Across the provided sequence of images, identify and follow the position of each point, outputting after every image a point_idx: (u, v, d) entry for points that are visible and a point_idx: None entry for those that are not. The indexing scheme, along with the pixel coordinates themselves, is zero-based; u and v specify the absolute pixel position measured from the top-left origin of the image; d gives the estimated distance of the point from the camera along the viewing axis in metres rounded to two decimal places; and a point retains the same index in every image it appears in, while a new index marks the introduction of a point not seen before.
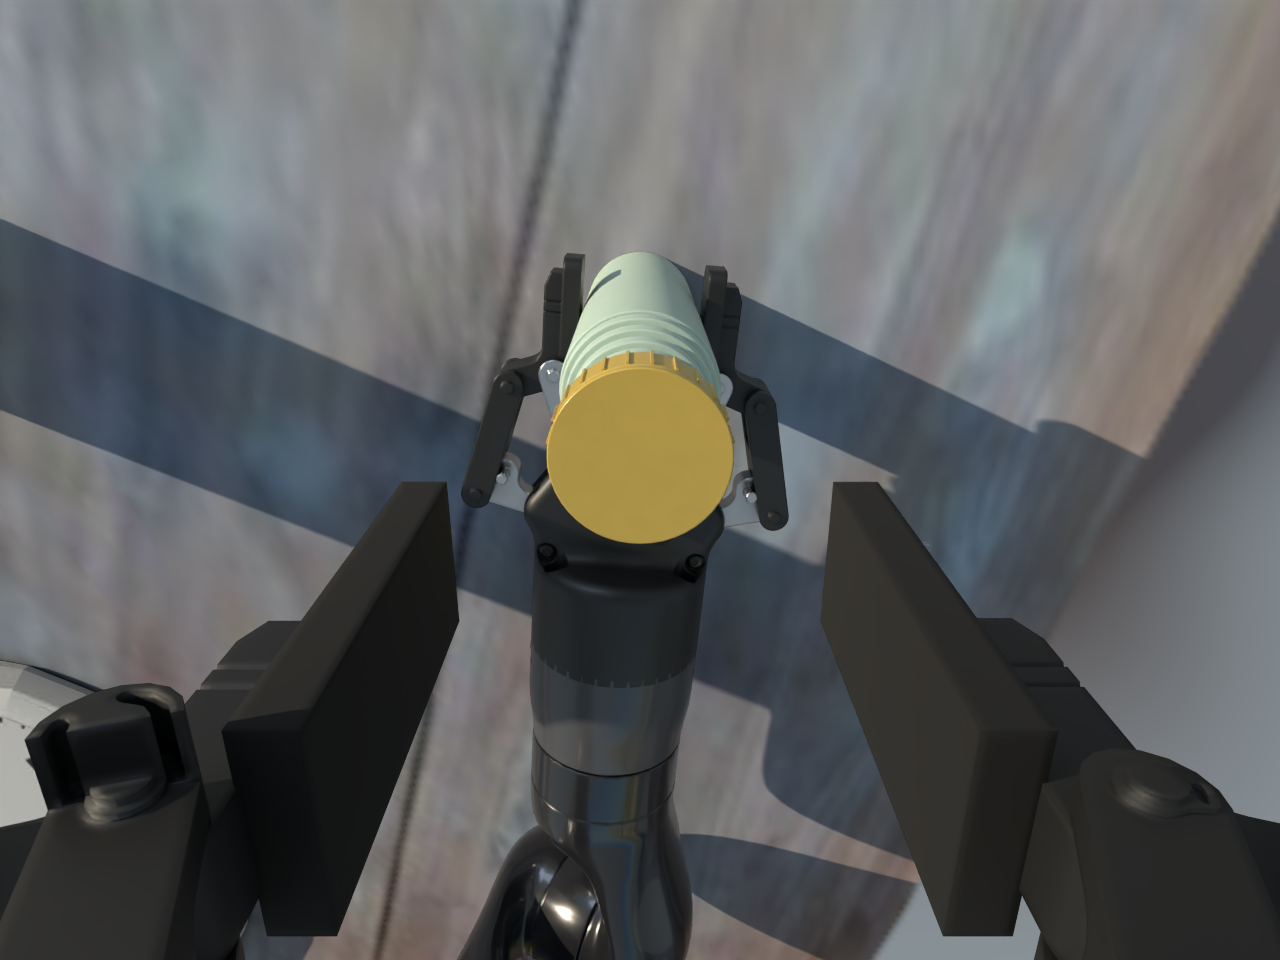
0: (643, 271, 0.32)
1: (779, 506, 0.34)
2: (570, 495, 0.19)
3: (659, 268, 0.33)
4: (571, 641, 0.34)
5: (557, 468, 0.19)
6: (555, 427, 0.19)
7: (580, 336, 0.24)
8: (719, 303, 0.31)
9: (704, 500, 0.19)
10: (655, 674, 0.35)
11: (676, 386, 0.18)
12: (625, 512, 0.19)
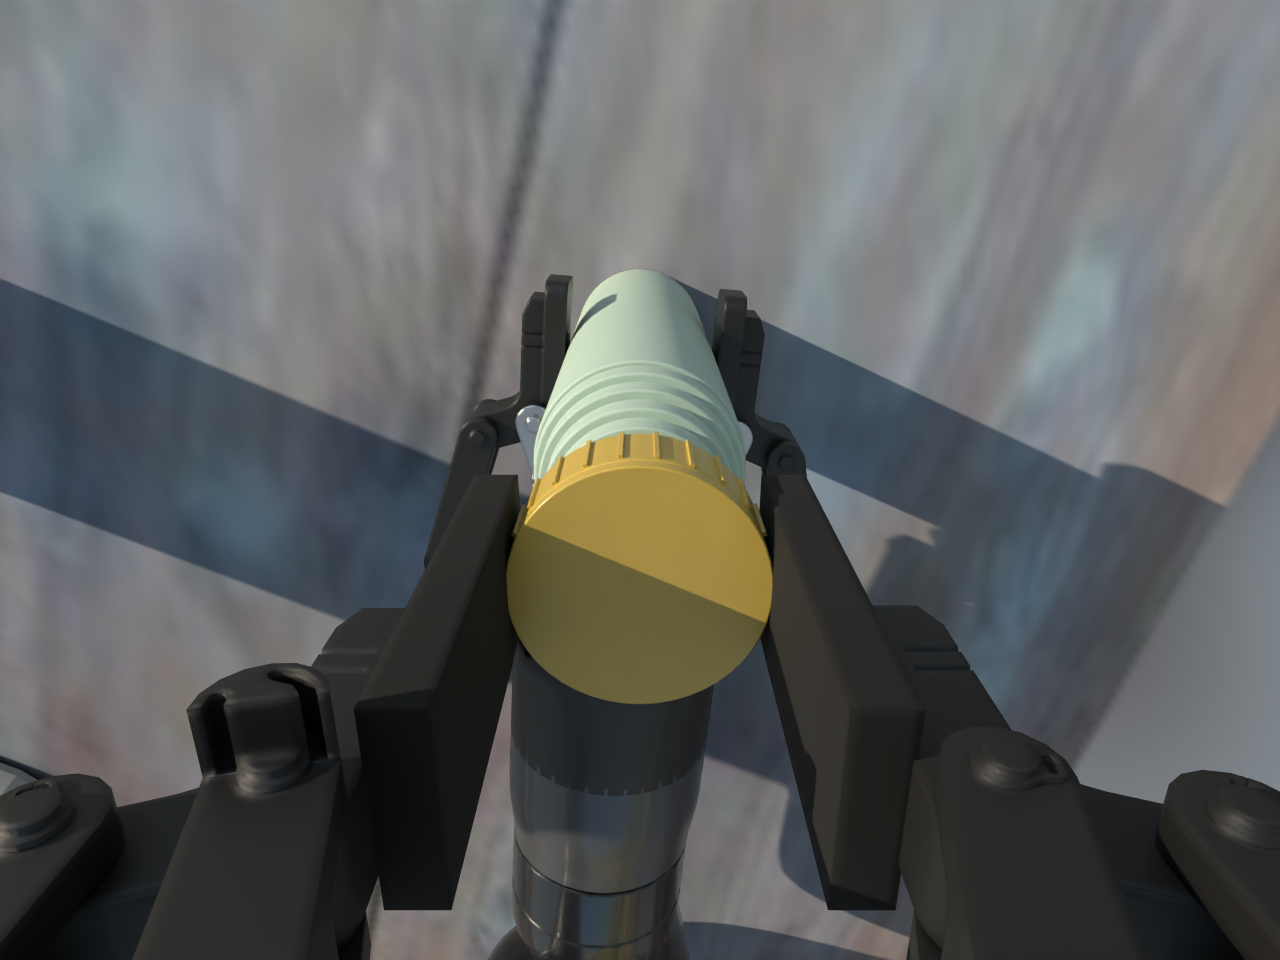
0: (643, 297, 0.26)
1: None
2: (539, 640, 0.14)
3: (663, 292, 0.28)
4: (556, 741, 0.28)
5: (520, 604, 0.13)
6: (516, 548, 0.13)
7: (560, 394, 0.18)
8: (737, 337, 0.25)
9: (731, 647, 0.14)
10: (658, 778, 0.29)
11: (692, 492, 0.13)
12: (618, 663, 0.14)
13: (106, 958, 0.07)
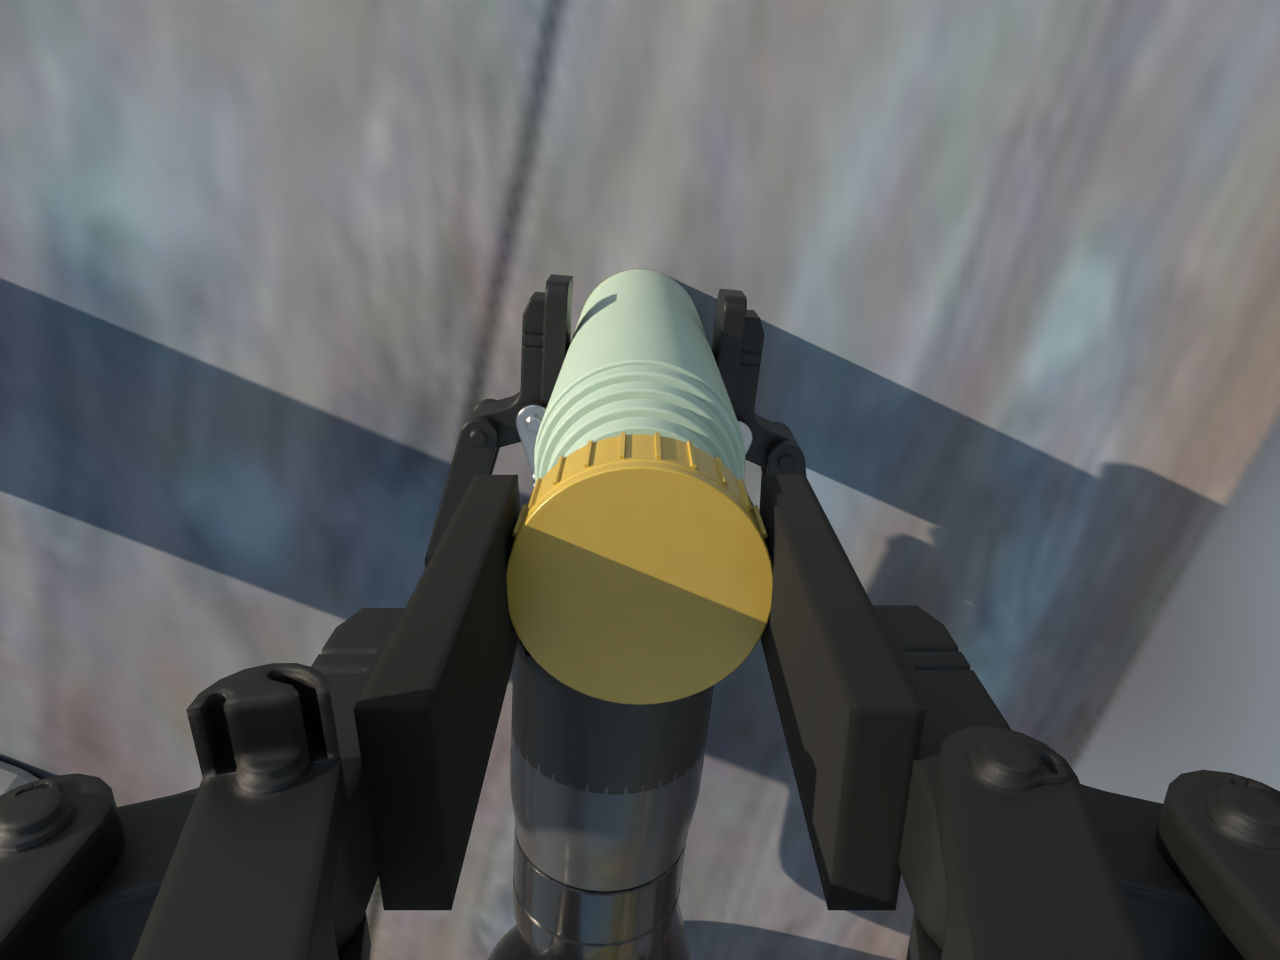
0: (643, 297, 0.26)
1: None
2: (716, 665, 0.14)
3: (663, 292, 0.28)
4: (557, 739, 0.28)
5: (680, 688, 0.14)
6: (623, 700, 0.14)
7: (561, 393, 0.18)
8: (736, 336, 0.25)
9: (679, 494, 0.13)
10: (658, 777, 0.29)
11: (521, 574, 0.13)
12: (725, 594, 0.13)
13: (106, 958, 0.07)
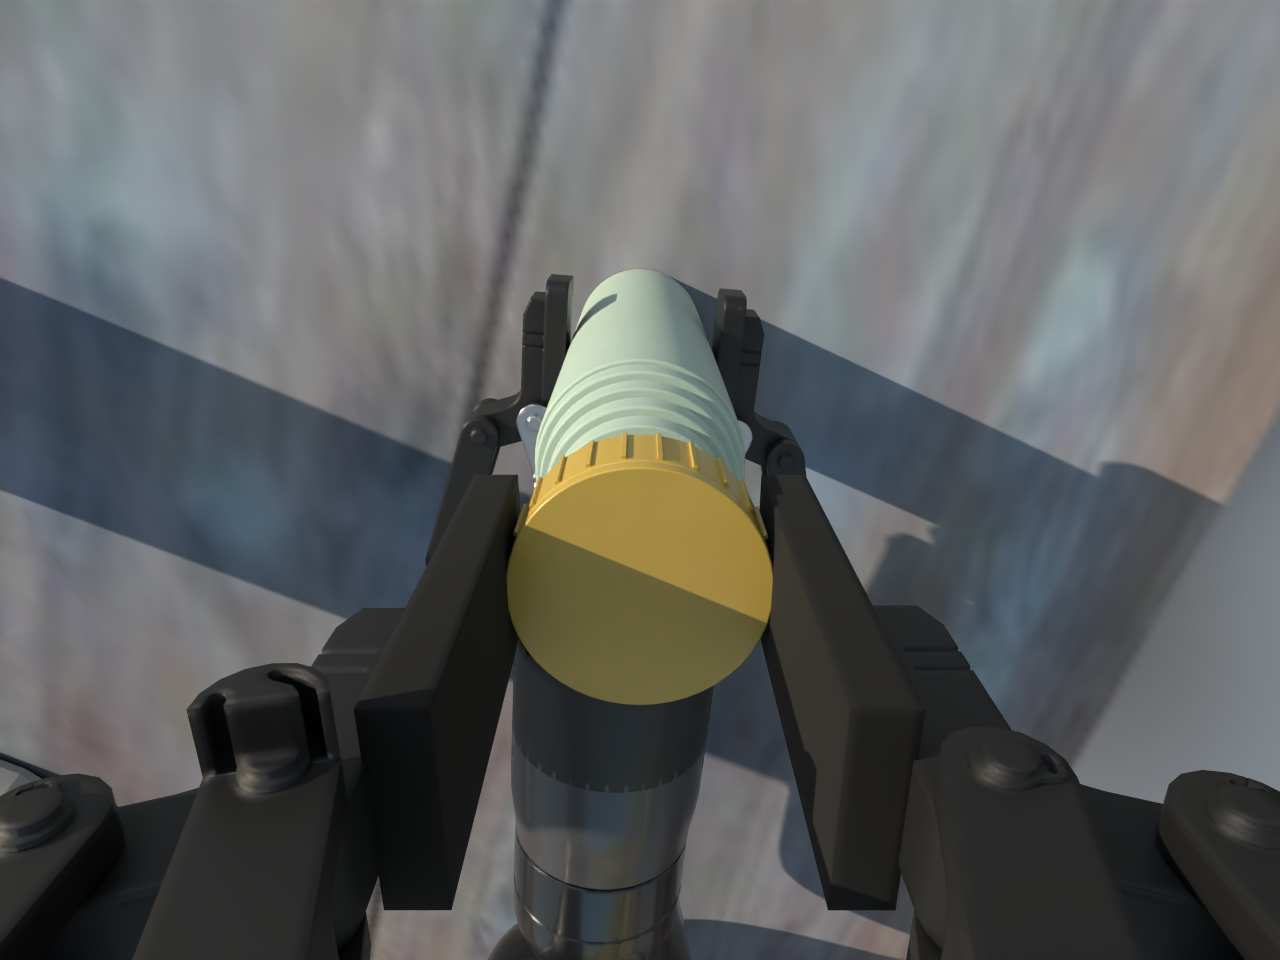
0: (643, 297, 0.26)
1: None
2: (705, 502, 0.13)
3: (663, 291, 0.28)
4: (558, 738, 0.28)
5: (741, 530, 0.13)
6: (769, 579, 0.13)
7: (561, 392, 0.18)
8: (736, 336, 0.25)
9: (526, 584, 0.13)
10: (658, 775, 0.29)
11: (648, 693, 0.14)
12: (618, 518, 0.13)
13: (106, 958, 0.07)
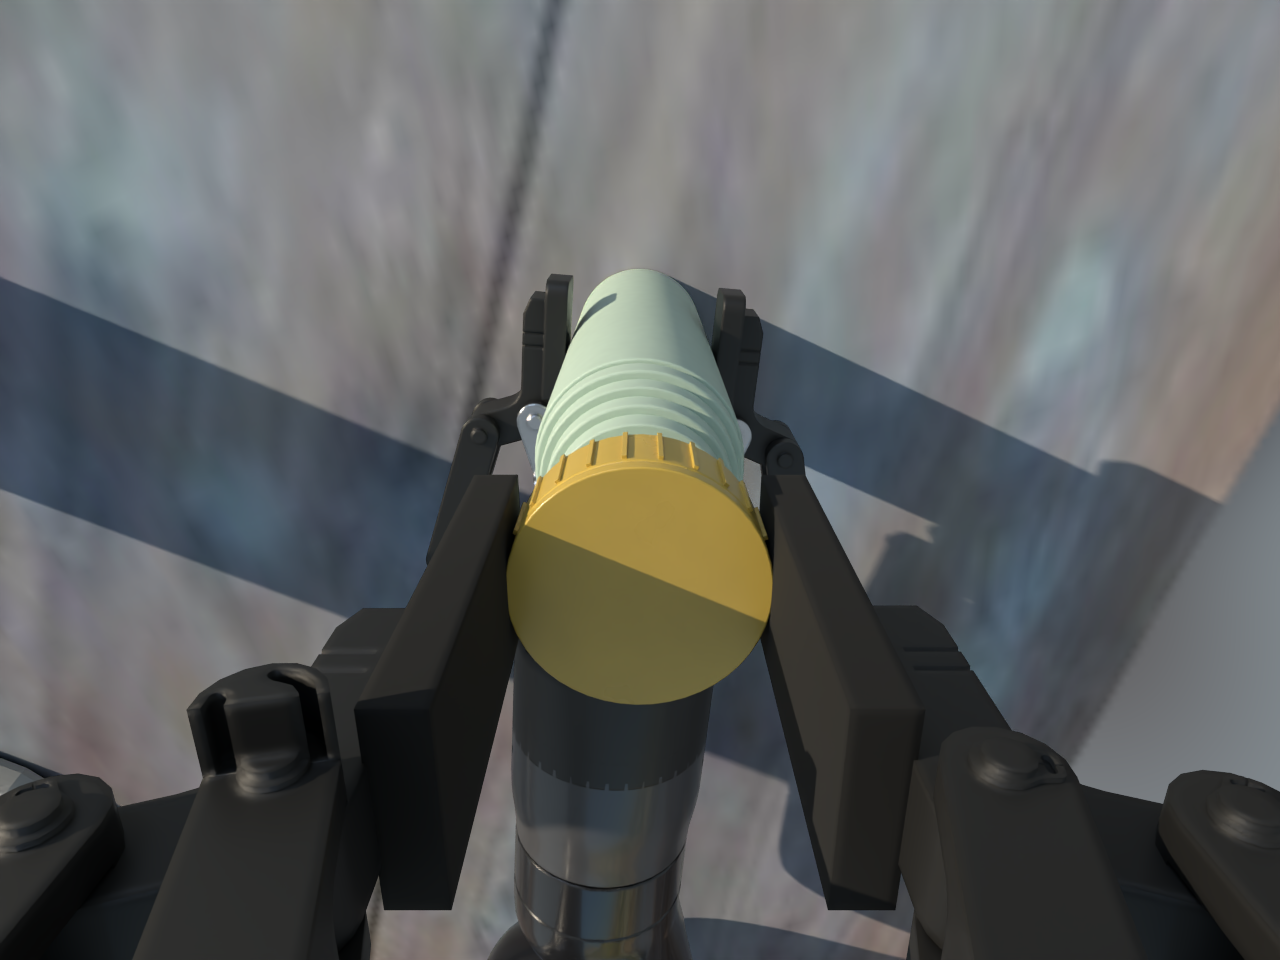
0: (643, 296, 0.26)
1: None
2: (526, 561, 0.13)
3: (662, 291, 0.28)
4: (558, 736, 0.28)
5: (544, 522, 0.13)
6: (589, 480, 0.13)
7: (561, 391, 0.18)
8: (736, 335, 0.26)
9: (657, 687, 0.14)
10: (658, 773, 0.29)
11: (754, 559, 0.13)
12: (565, 629, 0.13)
13: (106, 958, 0.07)
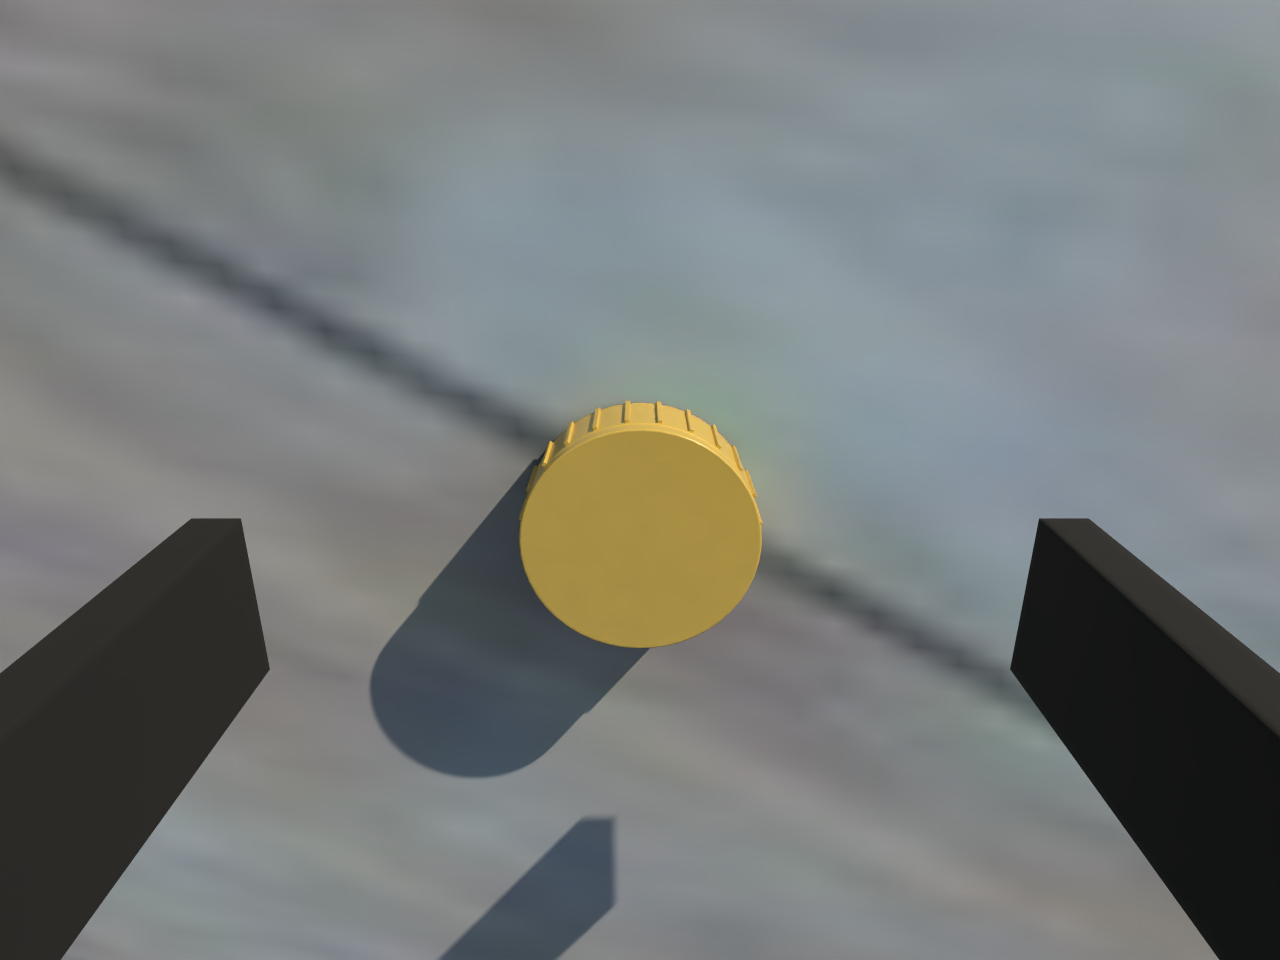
0: None
1: None
2: (539, 515, 0.14)
3: None
4: None
5: (555, 479, 0.14)
6: (595, 441, 0.14)
7: None
8: None
9: (656, 632, 0.15)
10: None
11: (744, 513, 0.14)
12: (573, 577, 0.15)
13: None
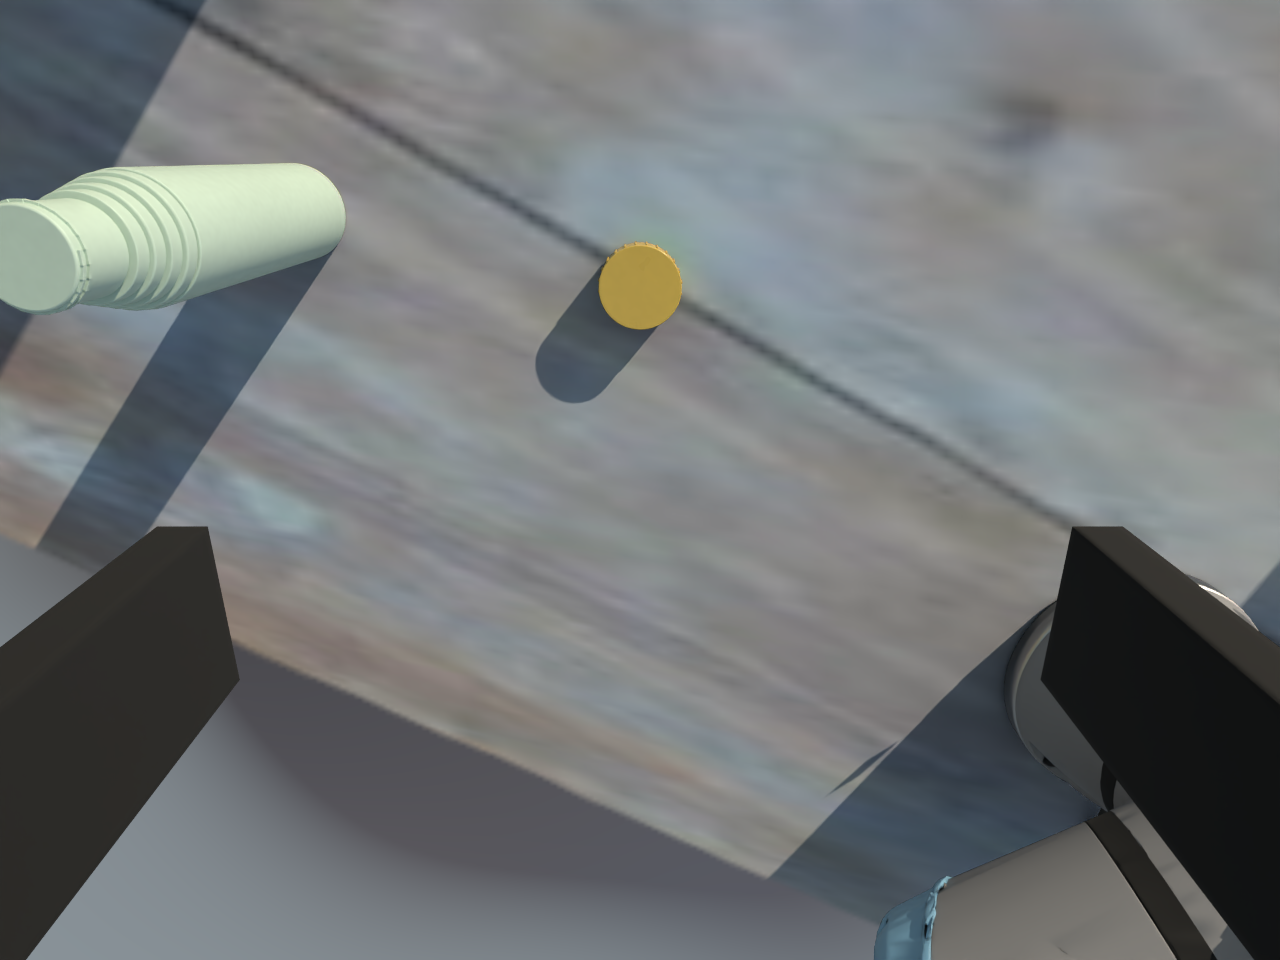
0: (294, 239, 0.37)
1: None
2: (605, 277, 0.43)
3: (306, 248, 0.39)
4: None
5: (611, 263, 0.42)
6: (625, 250, 0.42)
7: (182, 202, 0.28)
8: None
9: (645, 322, 0.43)
10: None
11: (675, 276, 0.43)
12: (617, 301, 0.43)
13: None
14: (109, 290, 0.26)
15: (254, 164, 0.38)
